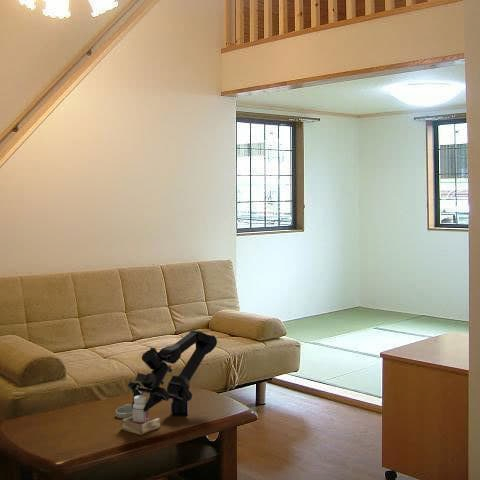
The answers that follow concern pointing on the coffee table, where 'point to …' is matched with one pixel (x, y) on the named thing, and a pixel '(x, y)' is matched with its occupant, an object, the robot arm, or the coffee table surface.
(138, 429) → the open tray
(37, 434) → the coffee table surface
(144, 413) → the pill bottle
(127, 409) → the wristwatch
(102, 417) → the coffee table surface
